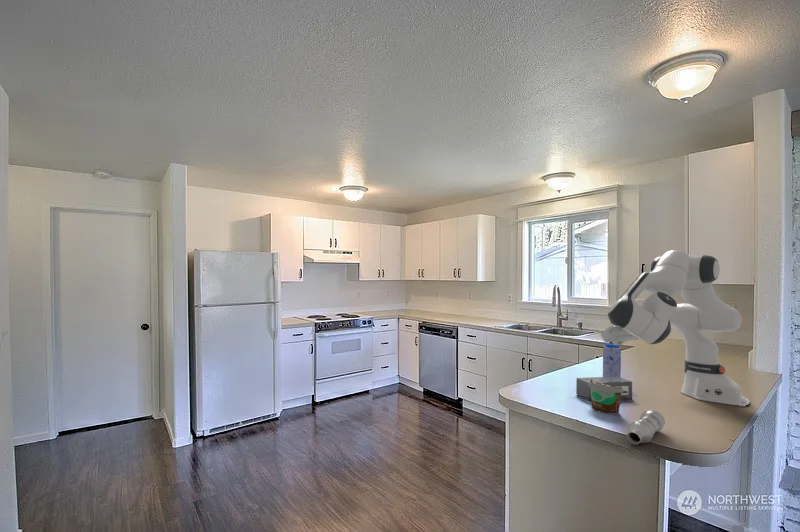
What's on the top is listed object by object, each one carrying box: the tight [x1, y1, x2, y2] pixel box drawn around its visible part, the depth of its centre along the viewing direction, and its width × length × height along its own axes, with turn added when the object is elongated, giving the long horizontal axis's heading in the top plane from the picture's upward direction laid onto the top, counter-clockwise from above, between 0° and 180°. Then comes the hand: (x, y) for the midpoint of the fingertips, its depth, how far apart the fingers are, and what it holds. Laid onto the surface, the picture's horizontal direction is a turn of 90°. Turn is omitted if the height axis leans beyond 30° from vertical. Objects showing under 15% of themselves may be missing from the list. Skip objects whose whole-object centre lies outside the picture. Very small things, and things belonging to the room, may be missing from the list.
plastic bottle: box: [626, 409, 666, 445], centre depth 122 cm, size 6×7×20 cm
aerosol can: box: [602, 342, 622, 378], centre depth 184 cm, size 8×8×20 cm
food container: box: [588, 379, 623, 414], centre depth 146 cm, size 12×6×10 cm, turn 34°
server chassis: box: [575, 376, 633, 402], centre depth 162 cm, size 20×8×7 cm, turn 102°
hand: (615, 343), depth 153 cm, fingers closed
